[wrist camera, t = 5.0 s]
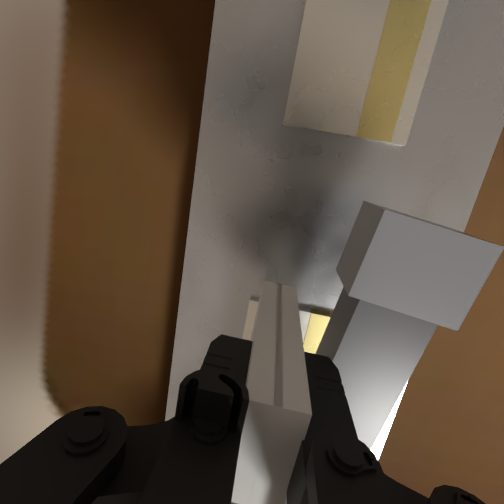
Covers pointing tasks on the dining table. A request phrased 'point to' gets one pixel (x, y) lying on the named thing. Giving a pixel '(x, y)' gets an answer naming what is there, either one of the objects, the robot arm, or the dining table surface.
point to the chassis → (328, 148)
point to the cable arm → (397, 304)
